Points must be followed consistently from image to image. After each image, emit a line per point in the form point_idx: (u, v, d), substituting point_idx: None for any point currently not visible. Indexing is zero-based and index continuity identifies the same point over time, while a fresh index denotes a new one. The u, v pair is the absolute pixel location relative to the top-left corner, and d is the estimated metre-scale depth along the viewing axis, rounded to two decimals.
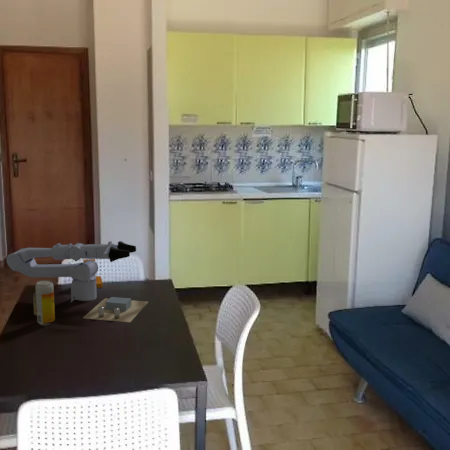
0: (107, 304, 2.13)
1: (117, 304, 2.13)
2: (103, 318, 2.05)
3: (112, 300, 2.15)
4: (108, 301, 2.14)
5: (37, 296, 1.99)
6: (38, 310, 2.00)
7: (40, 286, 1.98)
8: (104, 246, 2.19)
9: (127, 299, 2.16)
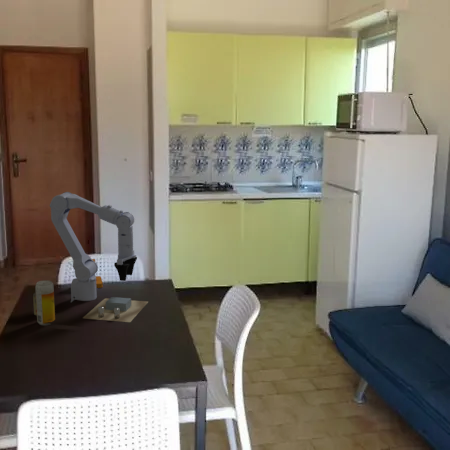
0: (107, 304, 2.13)
1: (117, 304, 2.13)
2: (103, 318, 2.05)
3: (112, 300, 2.15)
4: (108, 301, 2.14)
5: (37, 296, 1.99)
6: (38, 310, 2.00)
7: (40, 286, 1.98)
8: (130, 252, 2.19)
9: (127, 299, 2.16)
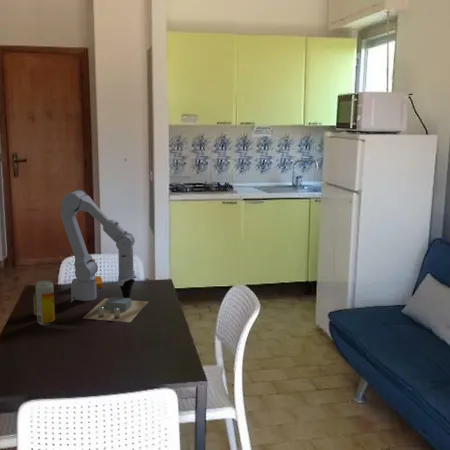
0: (107, 304, 2.13)
1: (117, 304, 2.13)
2: (103, 318, 2.05)
3: (112, 300, 2.15)
4: (108, 301, 2.14)
5: (37, 296, 1.99)
6: (38, 310, 2.00)
7: (40, 286, 1.98)
8: (130, 273, 2.21)
9: (127, 299, 2.16)
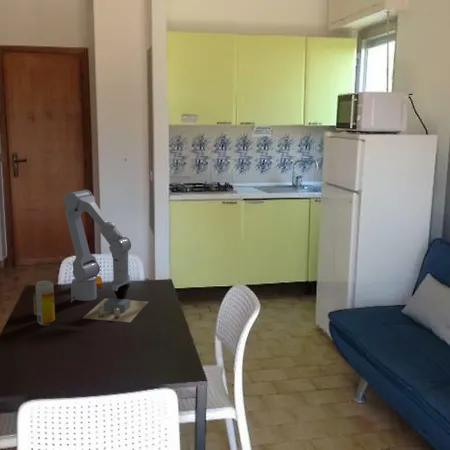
0: (105, 305, 2.12)
1: (116, 305, 2.11)
2: (103, 318, 2.05)
3: (111, 301, 2.14)
4: (107, 302, 2.13)
5: (37, 296, 1.99)
6: (38, 310, 2.00)
7: (40, 286, 1.98)
8: (125, 278, 2.15)
9: (126, 300, 2.15)
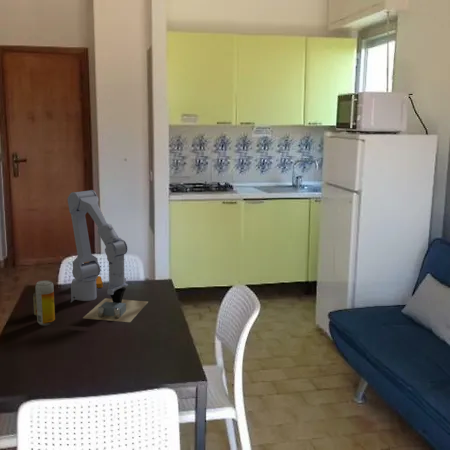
0: None
1: (111, 309, 2.07)
2: (103, 318, 2.05)
3: (106, 305, 2.10)
4: (102, 306, 2.09)
5: (37, 296, 1.99)
6: (38, 310, 2.00)
7: (40, 286, 1.98)
8: (121, 281, 2.11)
9: (122, 304, 2.11)
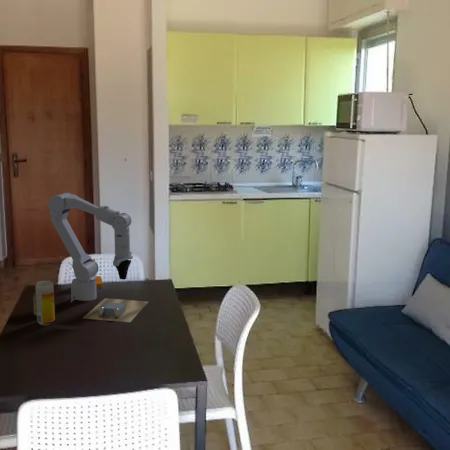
0: None
1: (111, 310, 2.07)
2: (103, 318, 2.05)
3: (106, 305, 2.09)
4: (102, 306, 2.08)
5: (37, 296, 1.99)
6: (38, 310, 2.00)
7: (40, 286, 1.98)
8: (126, 253, 2.17)
9: (121, 304, 2.11)
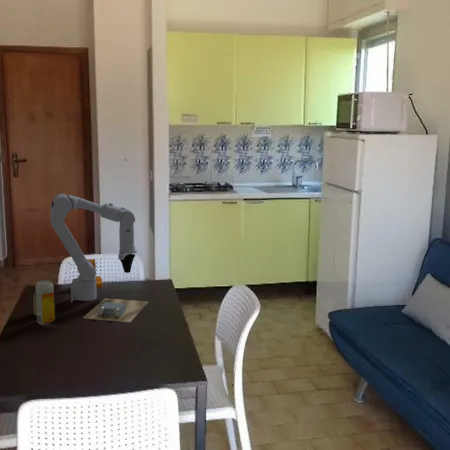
0: None
1: (111, 310, 2.07)
2: (103, 318, 2.05)
3: (106, 305, 2.09)
4: (102, 306, 2.08)
5: (37, 296, 1.99)
6: (38, 310, 2.00)
7: (40, 286, 1.98)
8: (131, 248, 2.26)
9: (121, 304, 2.11)
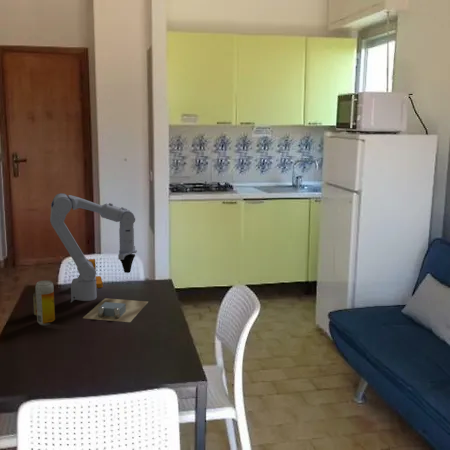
0: None
1: (111, 310, 2.07)
2: (103, 318, 2.05)
3: (106, 305, 2.09)
4: (102, 306, 2.08)
5: (37, 296, 1.99)
6: (38, 310, 2.00)
7: (40, 286, 1.98)
8: (131, 248, 2.26)
9: (121, 304, 2.11)
